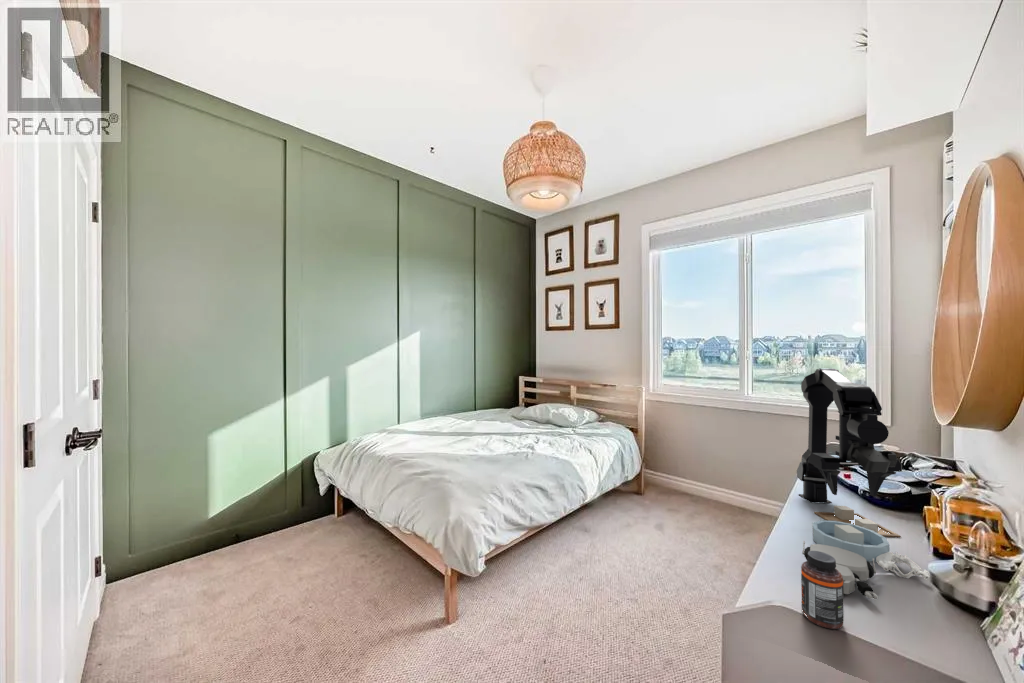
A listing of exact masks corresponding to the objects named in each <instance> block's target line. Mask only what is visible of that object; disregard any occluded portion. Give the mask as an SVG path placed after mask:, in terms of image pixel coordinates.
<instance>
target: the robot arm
mask: <svg viewBox="0 0 1024 683" xmlns="http://www.w3.org/2000/svg"><path fill="white" fill-rule="evenodd" d="M800 388H801V389H800V390H801V392H802V396H803V398H804V400H805V401H806V402H807V404H808V436H807V437H808V439H807V440H808V441H807V442H808V444H807V445H808V446H807V449H806V451H804V453H803V454H802V455H801V461H800V462H799V464H798V466H797V470H796V477H797V479H799V480H800V482H802V483H803V488H802V491H803V493H799V494H798V496H799V497H801V498H803V499H804V500H806V501H808V502H809V501H810V502H809V503H812V502H824V503H823V504H833V502H832V501H831V500H829V499H828V488H829V490H830V493H831V494H832V495H834V496H837V495H838V477H839V475H840V474H841V473H842V472H841V471H840V470H839V468H840V467H841V466H860V467H861V468H862V469H863V470H864V471H865V472H866V477H867V484H868V490H869V495H870V496H872V497H876V496H877V495H878V493H879V490H880V489H881V486H882V484H883V483H884V481H886V480H885V479H886V478H888V477H890V476H893V475H896V474H897V472H903V464H902V462H901V461H900V460H899V459H898V458H897V457H898V456H897V454H896V452H894V451H893V450H883V451H881V450H876V449H875V445H879V444H881V443H884V442H885V441H886V440H887V439H888V437H889V429H888V428H887V426H886V424H885V423H883V422H882V421H880V420H878V418H879V417H880V416H882V410H883V407H882V406H881V403H880V402H879V399H878V397H877V395H876V393H875V392H874V390H872V388H871V387H870V386H868V385H865V384H861V383H854V382H852V381H851V380H849V378H846V377H845V376H844V375H843V374H841V373H840V371H839V369H836V368H827V367H826V368H825V367H821V368H817V369H816V370H814V372H813V373H811V374H810V373H809V374H808V375H806V376H804V378H803V379H802V381H801V384H800ZM833 402H834V404H835V405H836V407H837V410H838V411H837V412H838V413H839V415H838V418H839V419H838V424H839V425H838V428H839V429H838V430H839V431H838V432H839V434H838V435H835V440H837V441H838V444H839V445H838V449H839V450H835V456H833V455H830V454H829V453H827V444H828V442H827V441H828V438H827V437H828V408H829V407H830V406H831V404H833ZM878 416H879V417H878ZM837 456H838V457H837ZM827 487H828V488H827Z"/></svg>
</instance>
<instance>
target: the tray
mask: <svg viewBox="0 0 1024 683" xmlns="http://www.w3.org/2000/svg"><path fill="white" fill-rule="evenodd" d="M813 514H815V515H816V516H818V517H820V518H822V519H823V520H827V521H839V522H844V523H849V524H851V521H849V520H842V519H840V518H838V517H837V516H834V511H833V512H830V511H828V512H826V511H813ZM854 515H857V516H859V517H861V518H862V519H868V518H867V517H865V516H864V515H861V514H860V513H857V512H856V513H855V512H854ZM875 523H876V524H878V527H879V528H881V529H880V530H879V531H878V534H880V535H882V536H883V537H885V538H895V537H897V538H898V537H901V538H902V536H901V535H900V534H898V533H896V532H894V531H892V530H890V529H888V528H887V527H884V526H883V525H880V524H879V523H877V522H875ZM853 524H854V523H853ZM883 531H884V532H883ZM885 532H886V533H885ZM888 532H889V533H890V534H889V533H888ZM887 533H888V534H887ZM897 538H896V539H897Z"/></svg>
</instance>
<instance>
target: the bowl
mask: <svg viewBox="0 0 1024 683" xmlns="http://www.w3.org/2000/svg"><path fill="white" fill-rule="evenodd" d="M811 524H812V525H811V526H812V531H811V533H812V540H813V541H814V542H815V544H821V545H828V546H833V547H838V548H841V549H845V550H848V551H851V552H854V553H856V554H859V555H860V556H862V557H864V558H866V561H868V562H873V560H872V558H874V563H875V562H876V563H877V561H876V557H877V556H879V555H881V554H884V553H887V552H891V551H890V550H891V549H890V548H891V547H890V543H889V540H888V539H887V537H883V536H882V535H880V534H878V533H876V532H874V531H872V530H869V529H866V528H863V527H860V526H857V525H854V524H849V523H844V522H839V521H827V520H825V519H823V520H822V519H821V520H817V521H814V522H812V523H811ZM834 525H850V526H852V527H854V528H855V529H857V530H859V531H861V532H862V533H864V545H860V544H856V543H851V542H847V541H843V540H840V539H837V538H835V534H834Z"/></svg>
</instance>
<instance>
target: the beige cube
mask: <svg viewBox="0 0 1024 683" xmlns="http://www.w3.org/2000/svg"><path fill="white" fill-rule="evenodd" d="M834 534H835V538H837V539H840V540H843V541H847V542H851V543H856V544H860V545H864V533H862V532H861V531H859V530H857V529H855V528H854V527H852V526H850V525H834Z"/></svg>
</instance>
